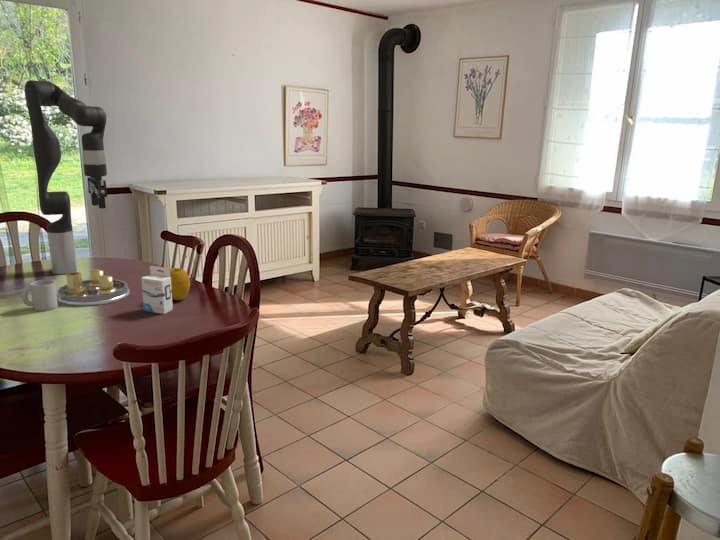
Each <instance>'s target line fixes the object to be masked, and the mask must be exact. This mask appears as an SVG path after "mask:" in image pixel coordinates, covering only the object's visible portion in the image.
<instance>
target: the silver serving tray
mask: <svg viewBox="0 0 720 540" xmlns="http://www.w3.org/2000/svg"><path fill="white" fill-rule="evenodd" d="M89 273H90V279H85V280H82V285H83V288H85V289H87V295H85V296H72V295H68V294H65V293H64V291H65V290H68V286H67V284H65V285H63V286H60V287H59V289H58V290H57V302H58V304H62V305H65V306H70V307H93V306H94V307H95V306H102V305H107V304H112V303H115V302H119V301H122V300H124V299H126V298H127V297H129V295H130V292H131V291H130V288H129V286H128V285H129V284H128V283H127V282H126V281H125V280H121V279H115V278H113V276H112V275H105V274H104V273H105V272H104V269H93V270H90V272H89Z"/></svg>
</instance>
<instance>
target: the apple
mask: <svg viewBox="0 0 720 540" xmlns="http://www.w3.org/2000/svg"><path fill="white" fill-rule="evenodd" d="M169 269H170V277H171V289H172V301H183V300H184V299H185V298H186V297H187V295H188V293H189V292H190V287H191V280H190V276H189V274H188V273H187V271H186V269H183V268H181V267H171V268H169Z"/></svg>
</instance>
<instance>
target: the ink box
mask: <svg viewBox="0 0 720 540" xmlns="http://www.w3.org/2000/svg"><path fill="white" fill-rule="evenodd" d="M170 269H171V268H170V267H164V266H154V265H150V266H149V272H150V274H148V275H144V276H142V277H140V279H141V291H142V292H141V293H142V309H143V312H149V313H155V314H161V315H164V314H165V315H166V314H167V313H169V312H171V311H173V306H174V305H173V299H172V289H171V277H170ZM159 270H160V271H159ZM162 271H163V272H162Z"/></svg>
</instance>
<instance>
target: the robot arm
mask: <svg viewBox="0 0 720 540" xmlns="http://www.w3.org/2000/svg"><path fill="white" fill-rule="evenodd" d="M24 96H25V97H24V98H25V102H26V103H25V104H26V108H27V111H28V112H27V113H28V116H29V121H30V127H31V128H30V129H31V135H32V136H31V137H32V138H31V139H32V147H33V155H34V161H35V168H36V173H37V176H36V177H37V187H38V188H37V189H38V202H39V208H40V213H42V215H43V216H56V215H57V216H58V215H61V217H60V218H59V219H56V220H55V221H53V222H50V223H48V224H47V225H46V234H47V242H48V248H49V259H50V267H51V273H52V274H54V275H66V274H68V273H71V272H77V271H78V268H77V267H78V266H77V258H76V248H75V240H74V232H73V231H74V230H73V222H72V213H71V212H72V209H71V207H72V206H71V205H72V204H71V198H70V195H69V193H68V191H63V190H62V191H60V190H59V191H48V188H49V183H50V181H51V178H52V176H53V174H54V172H56V170H57V168H58V166H59V164H60V162H61V160H62V152H61V150H62V149H61V144H60V143H61V142H60V140H59V138H58V136H57V135H56V134H55V132H54V131H53V129H52V128H51V127H50V126H49V124H48V123H47V121H46V120H45V117H44V115H43V110H42V107H58V109H59V111H60V112H61V113H62V114H63V115H65V116H67V117H69V118H71V119H72V120H73V122H74V123H75V124H76V125H79V126H80V127H92V129H91V131H90V132H87V133H84V134H82V135H81V145H82V162H83V164H82V165H83V172H84V173H83V174H84V176H85V177H87V179H86V180H87V188H88V190H87V191H88V194H89V195H90V199H91V205H92V206H93V207H95V206H98V208H99V209H106V198H107V197H108V192H107V183H106V180H104V179H103V177H106V176H107V175H108V173H107V172H108V171H107V170H108V169H107V160H106V154H105V147H104V145H105V144H104V137H105V136H104V134H105V130H106V124H107V114H106V112H105V110H104V109H103V108H102V107H100V106H96V105H95V106H90V105H86V104H85V103H84V102H83V101H82V100H80V99H77V98H75V97H73V96H71V95H70V94H68V93H67V92H65V91H64V90H63V89H61V88H60V86H58V85H56V84H55V83H54V82H51V81H43V80H33V79H32V80H30V79H29V80H27V81H26V82H25V84H24Z"/></svg>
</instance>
